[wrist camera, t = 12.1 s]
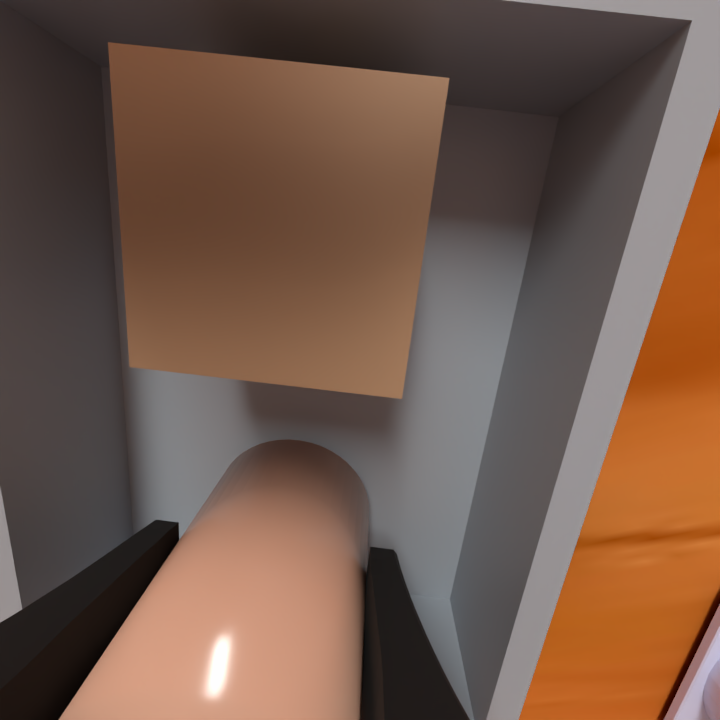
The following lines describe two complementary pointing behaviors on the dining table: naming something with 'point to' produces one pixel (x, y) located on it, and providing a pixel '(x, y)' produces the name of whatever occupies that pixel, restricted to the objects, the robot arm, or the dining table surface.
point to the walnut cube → (272, 215)
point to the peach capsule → (250, 603)
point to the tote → (433, 306)
